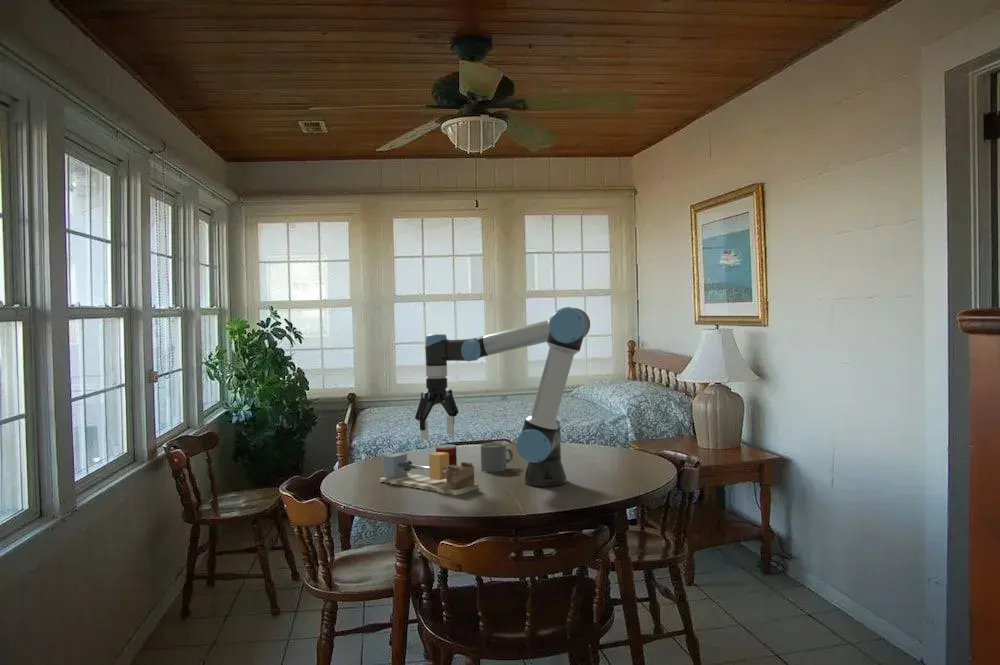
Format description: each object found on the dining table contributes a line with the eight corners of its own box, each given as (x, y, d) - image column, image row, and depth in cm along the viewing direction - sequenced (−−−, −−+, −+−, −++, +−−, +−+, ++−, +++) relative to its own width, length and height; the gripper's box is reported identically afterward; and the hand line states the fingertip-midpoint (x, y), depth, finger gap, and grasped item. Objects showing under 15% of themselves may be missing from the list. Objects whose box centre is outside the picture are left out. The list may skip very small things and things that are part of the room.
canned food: (454, 476, 271) (453, 447, 271) (434, 476, 273) (433, 447, 272) (459, 472, 278) (458, 444, 278) (439, 471, 280) (439, 444, 280)
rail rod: (459, 477, 250) (459, 466, 250) (452, 479, 247) (452, 468, 247) (402, 468, 268) (401, 458, 268) (394, 470, 265) (394, 460, 265)
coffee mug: (484, 473, 275) (483, 447, 275) (479, 468, 285) (478, 443, 285) (517, 470, 278) (516, 445, 278) (511, 465, 288) (510, 441, 288)
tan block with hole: (449, 477, 254) (448, 453, 254) (440, 480, 250) (439, 455, 250) (439, 476, 257) (438, 451, 257) (429, 478, 253) (429, 454, 253)
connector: (407, 475, 268) (406, 454, 268) (393, 478, 263) (393, 457, 263) (398, 473, 271) (397, 452, 271) (384, 477, 266) (383, 455, 266)
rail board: (478, 488, 250) (477, 462, 250) (456, 495, 241) (455, 468, 240) (402, 476, 273) (402, 452, 273) (379, 482, 264) (379, 457, 264)
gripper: (452, 374, 265) (453, 431, 265) (404, 379, 245) (405, 440, 246) (467, 375, 260) (468, 432, 261) (419, 380, 241) (420, 442, 241)
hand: (437, 436), depth 253 cm, fingers open, 13 cm apart
